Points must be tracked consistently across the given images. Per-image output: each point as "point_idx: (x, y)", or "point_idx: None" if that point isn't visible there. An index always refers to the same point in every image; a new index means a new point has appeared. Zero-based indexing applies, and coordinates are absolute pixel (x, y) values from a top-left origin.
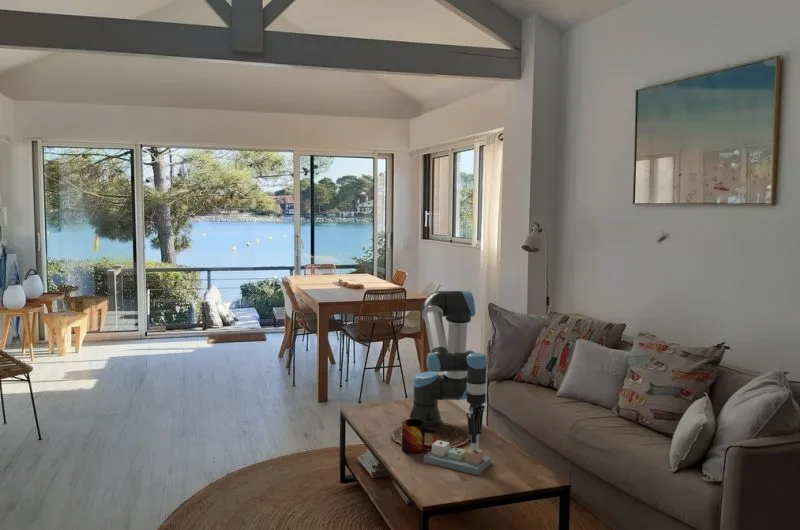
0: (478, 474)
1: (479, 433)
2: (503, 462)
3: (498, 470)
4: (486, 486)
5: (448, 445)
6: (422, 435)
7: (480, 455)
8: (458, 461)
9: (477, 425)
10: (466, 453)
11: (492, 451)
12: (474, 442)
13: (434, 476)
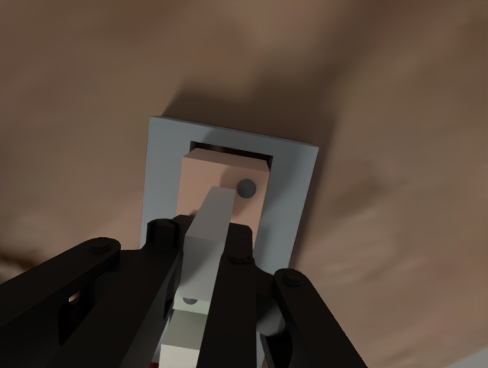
0: (310, 143)
1: (181, 235)
2: (122, 55)
3: (225, 61)
4: (419, 81)
5: (179, 337)
6: None
7: (234, 163)
8: (262, 252)
9: (204, 342)
10: (254, 240)
11: (25, 136)
12: (251, 232)
13: (369, 298)
